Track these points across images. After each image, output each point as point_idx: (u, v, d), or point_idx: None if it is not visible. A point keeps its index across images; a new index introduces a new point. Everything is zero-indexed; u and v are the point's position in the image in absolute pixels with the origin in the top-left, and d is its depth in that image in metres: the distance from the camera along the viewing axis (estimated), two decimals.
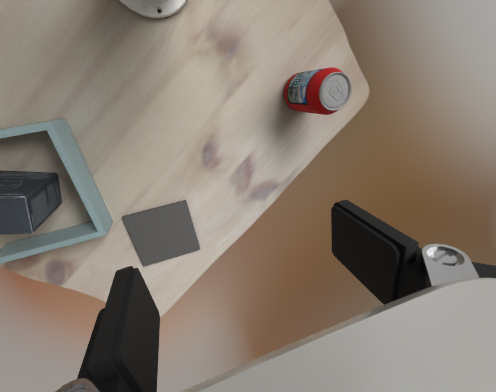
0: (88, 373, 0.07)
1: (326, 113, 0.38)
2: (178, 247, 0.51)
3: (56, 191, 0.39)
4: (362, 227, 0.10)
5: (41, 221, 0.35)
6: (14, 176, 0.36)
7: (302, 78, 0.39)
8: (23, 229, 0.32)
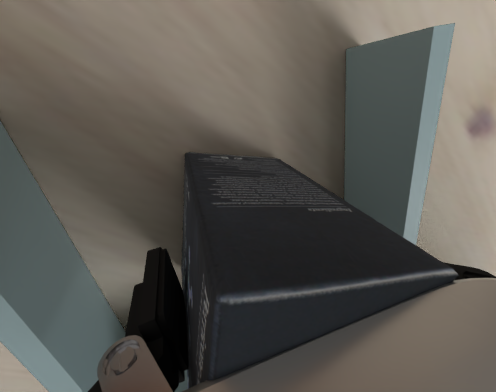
0: (134, 334, 0.07)
1: None
2: None
3: None
4: None
5: None
6: None
7: None
8: None
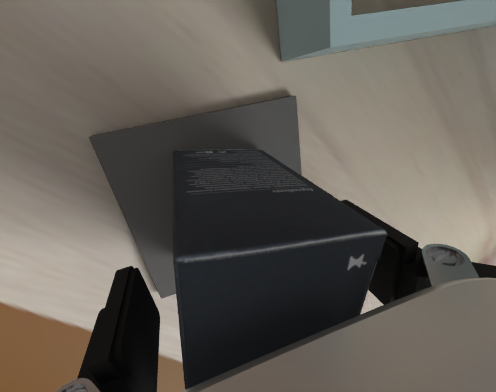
0: (88, 373, 0.07)
1: None
2: (172, 244, 0.16)
3: None
4: None
5: None
6: None
7: None
8: None
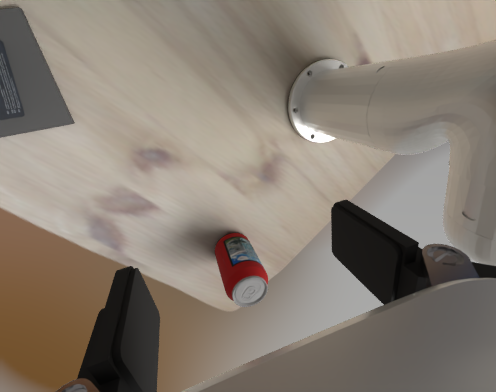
0: (88, 373, 0.07)
1: (227, 289, 0.35)
2: None
3: None
4: (362, 227, 0.10)
5: None
6: None
7: (251, 251, 0.39)
8: None
